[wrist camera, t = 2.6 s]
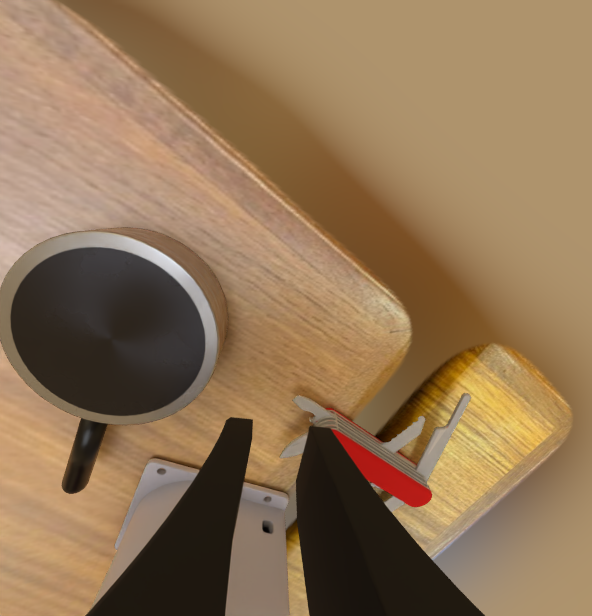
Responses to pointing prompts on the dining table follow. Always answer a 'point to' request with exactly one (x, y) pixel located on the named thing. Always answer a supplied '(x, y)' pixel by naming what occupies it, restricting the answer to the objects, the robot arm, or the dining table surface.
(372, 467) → the swiss army knife
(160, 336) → the pan
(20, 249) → the dining table surface
